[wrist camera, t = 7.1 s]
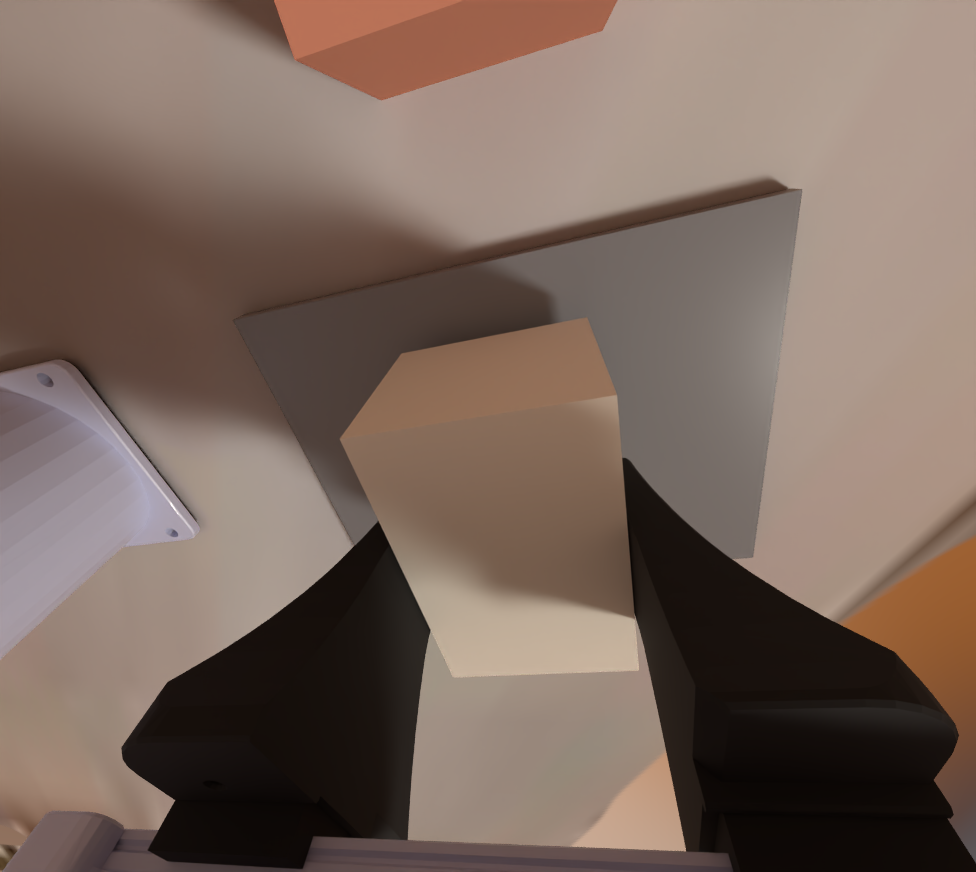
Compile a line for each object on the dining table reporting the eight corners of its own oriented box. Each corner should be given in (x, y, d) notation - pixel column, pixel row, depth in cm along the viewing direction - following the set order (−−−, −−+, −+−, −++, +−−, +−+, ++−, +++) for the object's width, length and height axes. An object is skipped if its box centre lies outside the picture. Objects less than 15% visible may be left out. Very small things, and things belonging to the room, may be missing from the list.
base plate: (381, 578, 19) (377, 588, 18) (242, 315, 13) (233, 320, 12) (747, 547, 16) (752, 557, 16) (790, 188, 10) (802, 189, 10)
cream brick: (472, 556, 16) (453, 677, 12) (401, 353, 12) (339, 438, 8) (611, 543, 15) (639, 670, 11) (587, 317, 11) (616, 395, 7)
